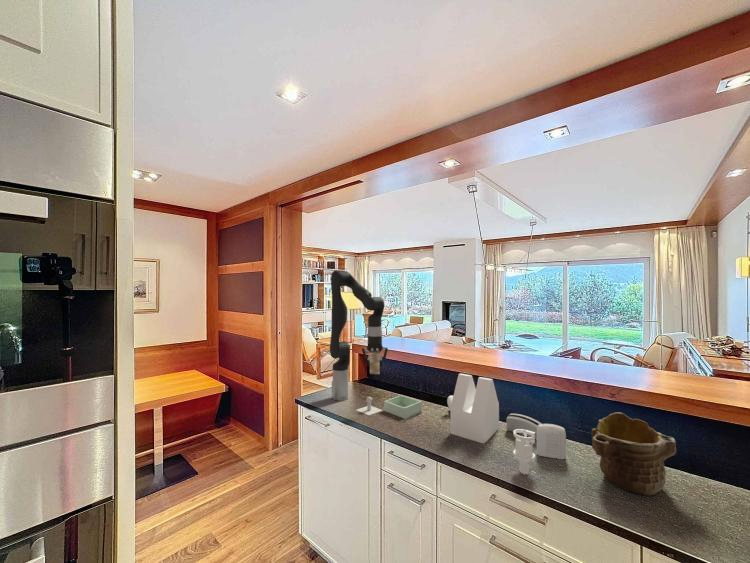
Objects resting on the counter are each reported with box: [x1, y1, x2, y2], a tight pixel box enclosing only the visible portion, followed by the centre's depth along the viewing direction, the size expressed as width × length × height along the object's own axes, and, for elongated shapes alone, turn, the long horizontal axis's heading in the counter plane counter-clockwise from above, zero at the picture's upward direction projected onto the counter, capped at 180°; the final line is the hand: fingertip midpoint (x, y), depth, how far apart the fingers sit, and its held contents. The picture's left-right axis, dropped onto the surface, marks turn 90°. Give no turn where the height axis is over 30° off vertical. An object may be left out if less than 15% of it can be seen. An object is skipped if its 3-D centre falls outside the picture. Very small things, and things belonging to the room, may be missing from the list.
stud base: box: [356, 396, 383, 416], centre depth 173 cm, size 10×10×8 cm
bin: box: [383, 394, 423, 421], centre depth 172 cm, size 14×14×6 cm
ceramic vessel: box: [591, 411, 677, 496], centre depth 111 cm, size 23×24×25 cm
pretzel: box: [446, 394, 454, 412], centre depth 171 cm, size 11×12×9 cm
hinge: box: [506, 413, 543, 439], centre depth 147 cm, size 17×5×10 cm, turn 41°
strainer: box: [512, 429, 536, 475], centre depth 118 cm, size 7×7×15 cm
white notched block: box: [450, 372, 500, 444], centre depth 151 cm, size 19×15×25 cm
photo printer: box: [536, 423, 567, 460], centre depth 129 cm, size 10×4×12 cm, turn 73°
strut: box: [369, 350, 381, 375], centre depth 173 cm, size 5×5×12 cm
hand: (374, 367), depth 173 cm, fingers closed on strut, 5 cm apart
